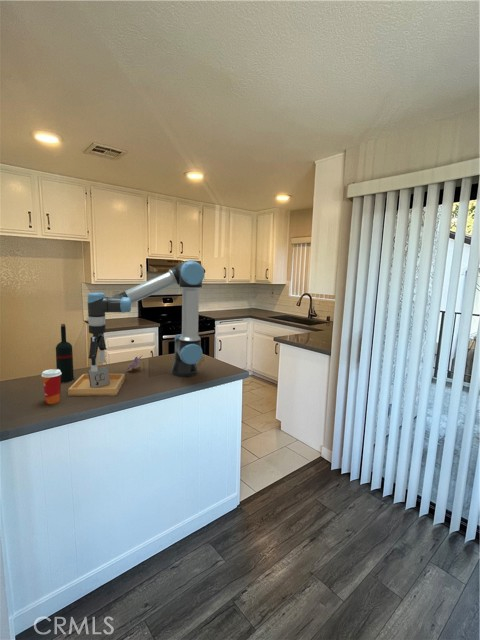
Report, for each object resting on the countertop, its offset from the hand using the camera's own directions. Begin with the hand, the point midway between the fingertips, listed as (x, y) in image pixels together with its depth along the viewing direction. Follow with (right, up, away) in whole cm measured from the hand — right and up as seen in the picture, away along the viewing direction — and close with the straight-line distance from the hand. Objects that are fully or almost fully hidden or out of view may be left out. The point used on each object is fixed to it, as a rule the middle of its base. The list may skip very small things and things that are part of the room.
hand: (98, 366), depth 158 cm
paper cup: (-13, -13, -16) cm, 25 cm away
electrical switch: (-1, -10, +2) cm, 10 cm away
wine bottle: (-22, -8, +10) cm, 26 cm away
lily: (+9, -7, +29) cm, 31 cm away
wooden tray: (-1, -11, +2) cm, 11 cm away
